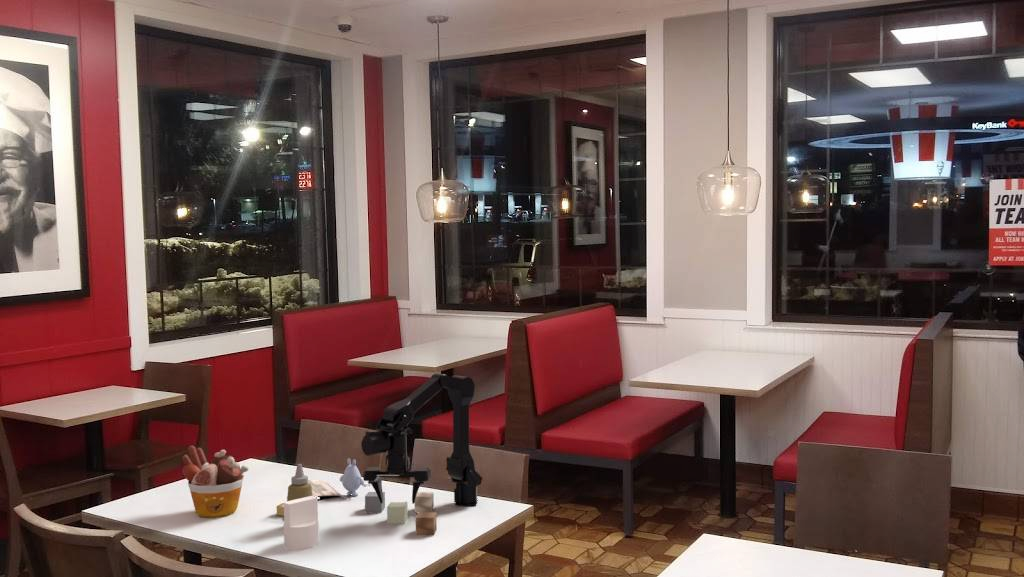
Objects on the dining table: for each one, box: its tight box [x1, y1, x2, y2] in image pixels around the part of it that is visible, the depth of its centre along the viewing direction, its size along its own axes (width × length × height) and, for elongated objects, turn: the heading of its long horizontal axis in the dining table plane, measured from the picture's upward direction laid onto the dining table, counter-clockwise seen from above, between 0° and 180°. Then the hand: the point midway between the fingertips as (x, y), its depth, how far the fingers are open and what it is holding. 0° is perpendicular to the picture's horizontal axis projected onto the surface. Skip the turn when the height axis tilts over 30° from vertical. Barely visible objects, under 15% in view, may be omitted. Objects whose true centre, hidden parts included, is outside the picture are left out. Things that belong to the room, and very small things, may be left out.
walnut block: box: [415, 511, 438, 536], centre depth 248 cm, size 5×5×5 cm
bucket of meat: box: [181, 445, 249, 519], centre depth 269 cm, size 20×16×20 cm
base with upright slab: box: [283, 496, 320, 551], centre depth 239 cm, size 9×9×12 cm
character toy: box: [276, 502, 284, 517], centre depth 266 cm, size 8×3×8 cm
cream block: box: [414, 491, 435, 513], centre depth 270 cm, size 5×5×5 cm
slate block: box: [364, 491, 386, 514], centre depth 271 cm, size 5×5×5 cm
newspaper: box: [308, 479, 344, 501], centre depth 292 cm, size 23×12×2 cm, turn 25°
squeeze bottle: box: [286, 463, 313, 502], centre depth 254 cm, size 8×8×18 cm
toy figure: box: [339, 457, 365, 497], centre depth 287 cm, size 11×6×12 cm, turn 55°
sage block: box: [386, 501, 409, 525], centre depth 259 cm, size 5×5×5 cm
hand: (397, 503), depth 259 cm, fingers open, 9 cm apart
